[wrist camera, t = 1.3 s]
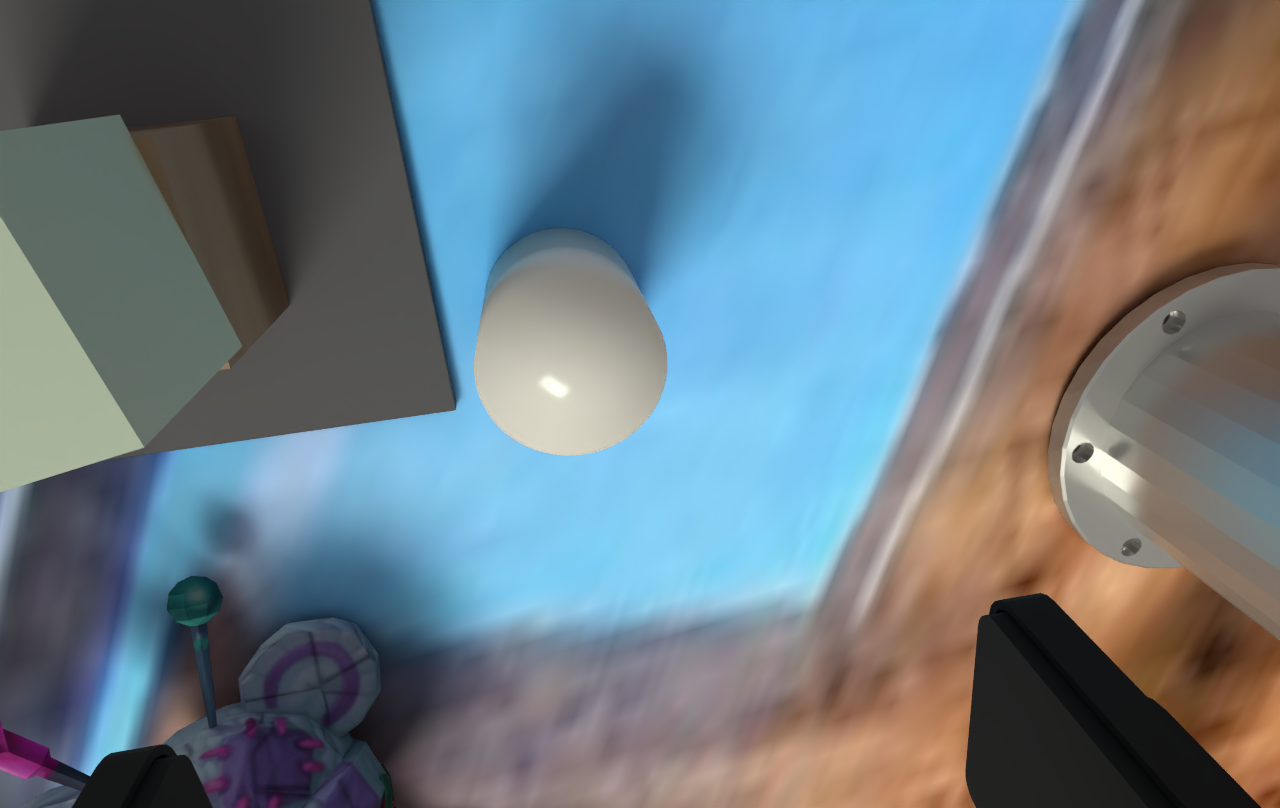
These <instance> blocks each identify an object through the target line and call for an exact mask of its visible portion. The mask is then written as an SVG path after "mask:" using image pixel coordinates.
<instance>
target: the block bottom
mask: <svg viewBox="0 0 1280 808" xmlns="http://www.w3.org/2000/svg"><path fill="white" fill-rule="evenodd" d="M127 129H128V131H129V133H130V135H131V137H132V139H133V141H134V142H135V144H136V146H137V148H138V150H139V152H140V154H141V156H142V158H143V159H144V161H145V163H146V165H147V167H148V169H149V171H150V173H151V175H152V176H153V178H154V180H155V182H156V184H157V186H158V188H159V190H160V192H161V193H162V195H163V197H164V199H165V201H166V203H167V205H168V207H169V209H170V210H171V212H172V214H173V216H174V218H175V220H176V222H177V224H178V226H179V227H180V229H181V231H182V233H183V235H184V237H185V239H186V241H187V243H188V244H189V246H190V248H191V250H192V252H193V254H194V256H195V258H196V260H197V261H198V263H199V265H200V267H201V269H202V271H203V273H204V275H205V277H206V278H207V280H208V282H209V284H210V286H211V288H212V290H213V292H214V294H215V295H216V297H217V299H218V301H219V303H220V305H221V307H222V309H223V311H224V312H225V314H226V316H227V318H228V320H229V322H230V324H231V326H232V328H233V329H234V331H235V333H236V335H237V337H238V339H239V341H240V343H241V345H242V347H241V348H240V349H239V350H238V351H237V352H236V353H235V354H234V355H233V356H232V358H231V359H230V360H229V361H228V362H227V363H226V364H225V365H224V366H223V367H222V368H221V369H220V370H224V369H231V368H232V366H233V365H234V364H235V363H236V362H237V361H238V360H239V359H240V358H241V357H242V356H243V355H244V354H245V353H246V352H247V350H248V349H249V348H250V347H251V346H252V345H253V344H254V343H255V342H256V341H257V340H258V339H259V338H260V337H261V336H262V334H263V333H264V332H265V331H266V330H267V329H268V328H269V327H270V326H271V325H272V324H273V323H274V322H275V321H276V320H277V318H278V317H279V316H280V315H281V314H282V313H283V312H284V311H285V310H286V309H287V308H288V307H289V306H290V303H289V300H288V296H287V293H286V289H285V286H284V282H283V279H282V275H281V272H280V268H279V265H278V262H277V258H276V255H275V251H274V248H273V244H272V241H271V237H270V234H269V230H268V227H267V224H266V220H265V217H264V213H263V210H262V206H261V203H260V199H259V196H258V192H257V189H256V185H255V182H254V179H253V175H252V172H251V168H250V165H249V161H248V158H247V154H246V151H245V147H244V144H243V141H242V137H241V134H240V130H239V127H238V123H237V120H236V116H233V117H224V118H215V119H206V120H197V121H188V122H178V123H169V124H160V125H151V126H142V127H132V128H127Z"/></svg>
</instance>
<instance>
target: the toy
mask: <svg viewBox="0 0 1280 808" xmlns="http://www.w3.org/2000/svg"><path fill="white" fill-rule="evenodd" d="M222 599H223V596H222V594H221V592H220V590H219V588H218V586H217V584H216V582H214V581H212V580H210V579H208V578H207V577H199V576H191V577H188V578H186V579H184V580H182V581H180V582H178V583H177V584H176V585H175V587H174V588H173V589H172V590H171V591H170V593H169V596H168V604H167V611H168V612H169V614H170V615H171V617H172V618H173V620H174V621H175V622H177V623H181V624H184V625H187V626H190V631H191V636H192V641H193V646H194V652H195V657H196V662H197V667H198V672H199V678H200V683H201V688H202V693H203V698H204V704H205V709H206V714H207V716H205V717H203V718H201V719H199V720H197V721H196V722H194V723H192V724H190V725H188V726H186V727H184V728H183V729H181V730H179V731H177V732H176V733H175V734H174V735H172V736H171V737H170V738H169V739H168V740H167V741H166V742H165V743H163V744H162V745H164V744H167V745H168V746H170V747H172V748H173V750H174V751H175V753H176V754H177V755H186V756H187V757H189V759H190V760H191V762H192V764H193V766H194V768H195V770H196V772H197V774H198V777H199V779H200V781H201V783H202V785H203V787H204V789H205V792H206V794H207V796H208V798H209V800H210V802H211V805H212V807H213V808H396V807H395V806H394V804H393V803H392V802H393V801H394V797H393V790H392V784H391V778H390V774H389V772H388V771H387V769H386V768H385V767H384V765H383V764H380V763H379V761H378V760H377V758H376V757H375V755H374V754H373V752H372V751H371V749H370V748H369V746H368V745H367V743H366V742H365V741H361V740H358V739H353V738H352V737H351V736H350V734H349V732H350V731H351V730H352V729H354V728H355V727H356V726H357V725H358V724H360V723H361V722H362V721H363V719H364V718H365V716H366V714H367V713H368V711H369V710H370V708H371V706H372V705H373V703H374V701H375V700H376V698H377V697H378V695H379V693H380V692H381V681H380V662H379V654H378V653H377V651H376V650H375V649H374V647H373V646H372V644H371V643H370V641H369V640H368V639H367V637H366V636H365V634H364V633H363V632H362V630H361V629H360V627H359V626H358V625H357V624H356V623H352V622H349V621H345V620H341V619H337V618H334V617H330V618H323V619H315V620H307V621H299V622H292V623H288V624H286V625H284V626H283V627H282V628H281V629H279V630H278V631H277V632H276V633H275V634H273V635H272V636H271V637H270V638H269V639H267V640H266V641H265V642H264V643H263V644H262V645H260V647H259V648H258V650H257V651H256V653H255V654H254V656H253V657H252V659H251V660H250V662H249V663H248V665H247V666H246V668H245V669H244V671H243V672H242V674H241V675H240V677H239V678H238V683H239V691H240V699H241V702H238V703H234V704H231V705H227V706H224V707H222V708H220V709H218V710H216V708H215V699H214V689H213V680H212V670H211V661H210V651H209V641H208V632H207V622H208V621H209V620H210V619H211V618H212V617H214V616H215V615H216V614H217V613H218V612H219V611H220V607H221V603H222ZM0 770H3V771H5V772H8V773H10V774H13V775H15V776H18V777H20V778H23V779H25V780H26V779H29V778H32V777H35V776H39V777H42V778H45V779H48V780H51V781H54V782H56V783H59V784H62V785H64V786H60V787H57V788H53V789H50V790H48V791H46V792H45V793H43V794H41V795H39V796H37V797H36V798H34V799H32V800H30V801H29V802H27V803H25V804H23V805H21V806H20V807H18V808H72V806H73V804H74V803H75V801H76V799H77V798H78V796H79V795H80V793H81V791H82V790H83V788H84V786H85V785H86V783H87V782H88V780H89V778H90V776H88V775H86V774H84V773H82V772H80V771H78V770H76V769H74V768H72V767H70V766H68V765H66V764H63V763H61V762H59V761H57V760H55V759H53V758H51V756H50V751H49V748H47V747H45V746H43V745H40V744H38V743H36V742H33V741H31V740H28V739H26V738H24V737H21V736H19V735H17V734H14V733H12V732H10V731H7V730H5V729H3V728H2V725H1V722H0Z"/></svg>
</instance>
